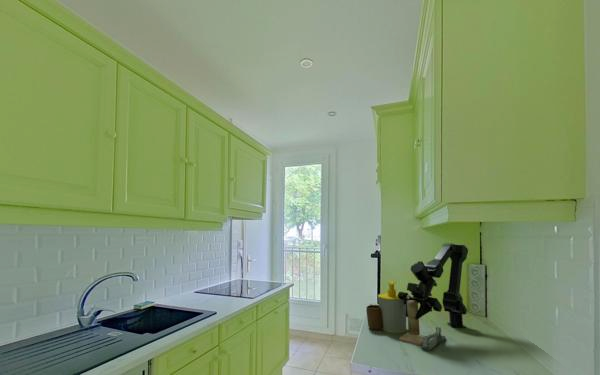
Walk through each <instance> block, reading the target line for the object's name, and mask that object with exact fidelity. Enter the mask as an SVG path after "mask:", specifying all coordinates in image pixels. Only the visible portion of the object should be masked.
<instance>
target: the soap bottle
mask: <svg viewBox="0 0 600 375" xmlns="http://www.w3.org/2000/svg"><path fill="white" fill-rule="evenodd" d="M387 284H388V289H387V293H379V294H378V295H377V300H378V301H377V302H378V303H377V304H378V305H379V308H380V307H381V311H382V319H383V329H381V330H383V331H385V332H387V333H388V332H389V333H395V334H396V333H405V332H406V331H407V317H406V304H404V302H405V301H404V300H401V299H399V298H398V296H397V295H398V293H397V290H396V289H395V284H396V282H395V281H387Z"/></svg>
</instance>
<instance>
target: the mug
mask: <svg viewBox="0 0 600 375" xmlns="http://www.w3.org/2000/svg"><path fill="white" fill-rule="evenodd" d="M365 308H366V318H367V326H368V328H369V329H371V330H375V331H377V330H382V329H383V319H382V311H381V307H380V308H379V304H369V305H367V306H366V307H365Z"/></svg>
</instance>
